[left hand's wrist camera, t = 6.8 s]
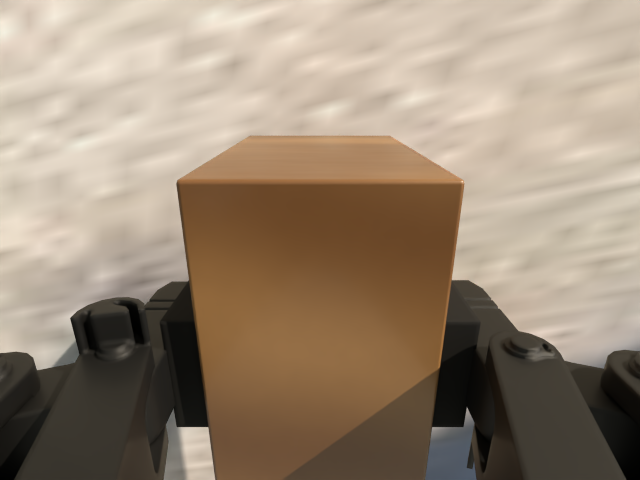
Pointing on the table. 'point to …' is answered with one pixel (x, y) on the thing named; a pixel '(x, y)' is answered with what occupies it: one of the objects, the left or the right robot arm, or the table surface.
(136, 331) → the left robot arm
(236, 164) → the beam
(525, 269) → the table surface
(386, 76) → the table surface
